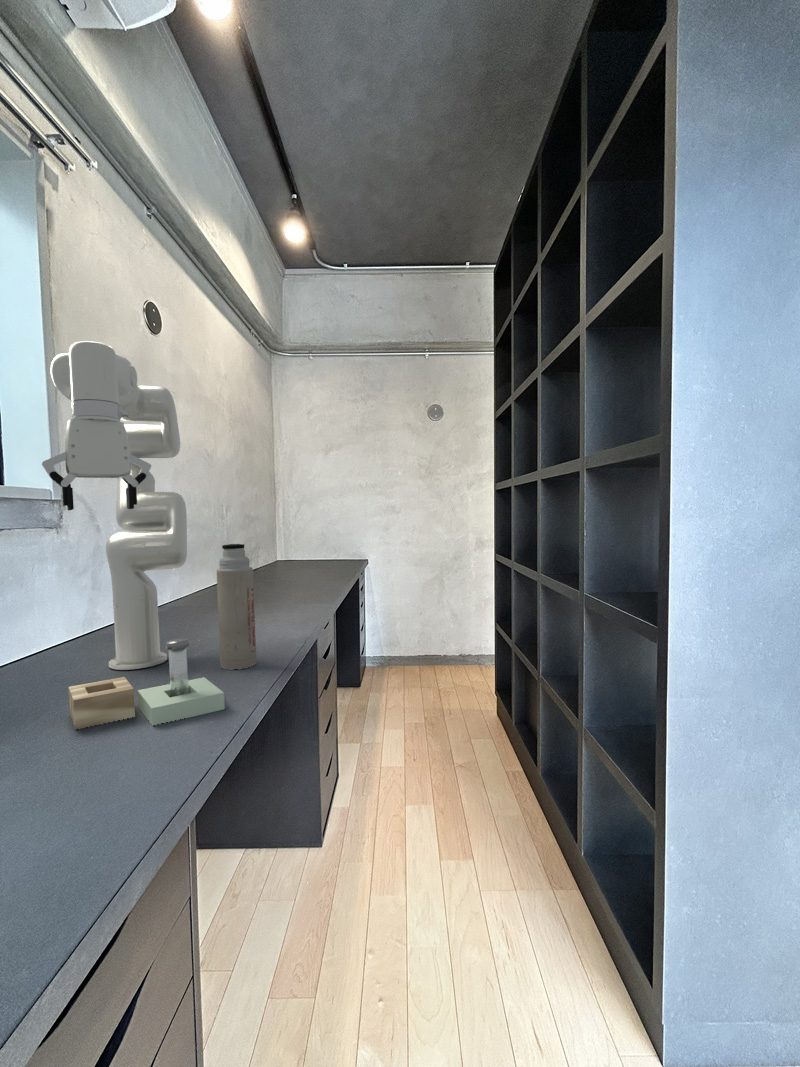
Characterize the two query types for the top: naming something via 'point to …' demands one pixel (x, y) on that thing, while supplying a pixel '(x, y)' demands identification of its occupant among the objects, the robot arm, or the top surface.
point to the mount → (101, 702)
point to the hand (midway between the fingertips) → (101, 509)
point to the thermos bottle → (236, 609)
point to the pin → (178, 666)
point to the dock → (180, 701)
